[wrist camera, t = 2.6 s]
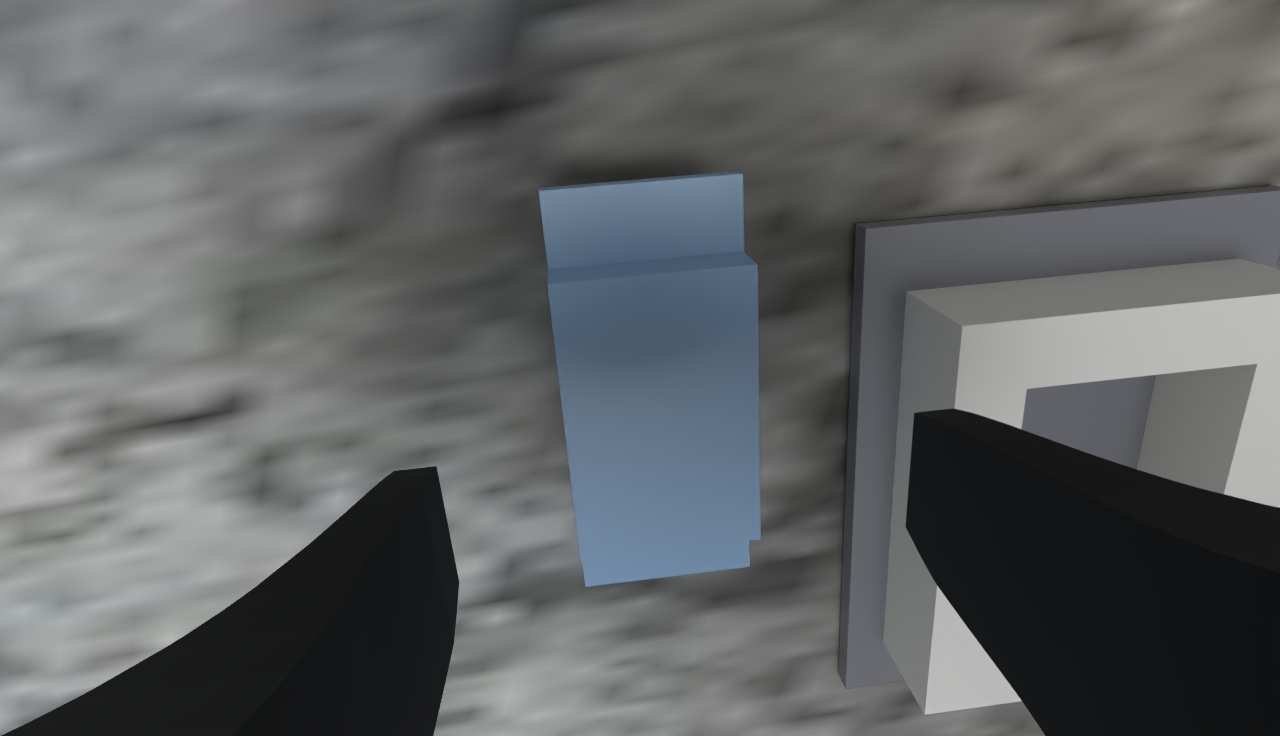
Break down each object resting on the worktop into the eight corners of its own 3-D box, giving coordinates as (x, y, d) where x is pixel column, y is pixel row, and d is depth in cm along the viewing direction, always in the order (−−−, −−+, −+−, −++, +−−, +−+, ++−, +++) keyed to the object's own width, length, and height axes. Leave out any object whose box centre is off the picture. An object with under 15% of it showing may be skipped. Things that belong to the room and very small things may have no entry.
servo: (710, 156, 16) (756, 180, 12) (721, 495, 19) (761, 596, 15) (542, 170, 16) (537, 200, 12) (581, 511, 19) (587, 618, 15)
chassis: (1272, 185, 17) (1414, 207, 14) (1164, 629, 22) (1255, 711, 19) (855, 223, 17) (918, 255, 14) (838, 673, 22) (881, 765, 19)
